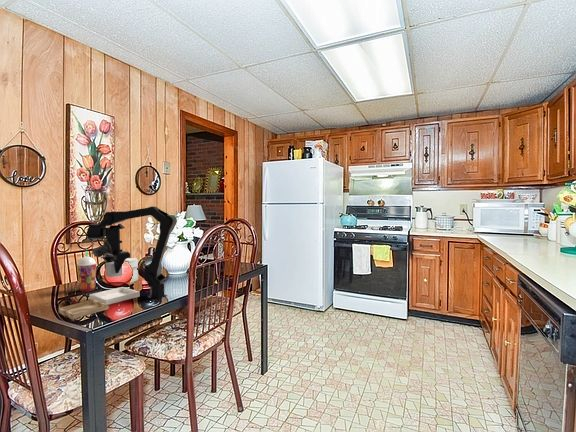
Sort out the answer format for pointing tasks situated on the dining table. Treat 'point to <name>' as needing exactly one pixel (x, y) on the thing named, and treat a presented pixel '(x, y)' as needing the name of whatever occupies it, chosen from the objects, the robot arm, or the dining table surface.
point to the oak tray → (83, 309)
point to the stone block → (112, 270)
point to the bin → (114, 295)
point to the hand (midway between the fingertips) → (114, 272)
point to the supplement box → (134, 265)
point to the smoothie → (86, 273)
